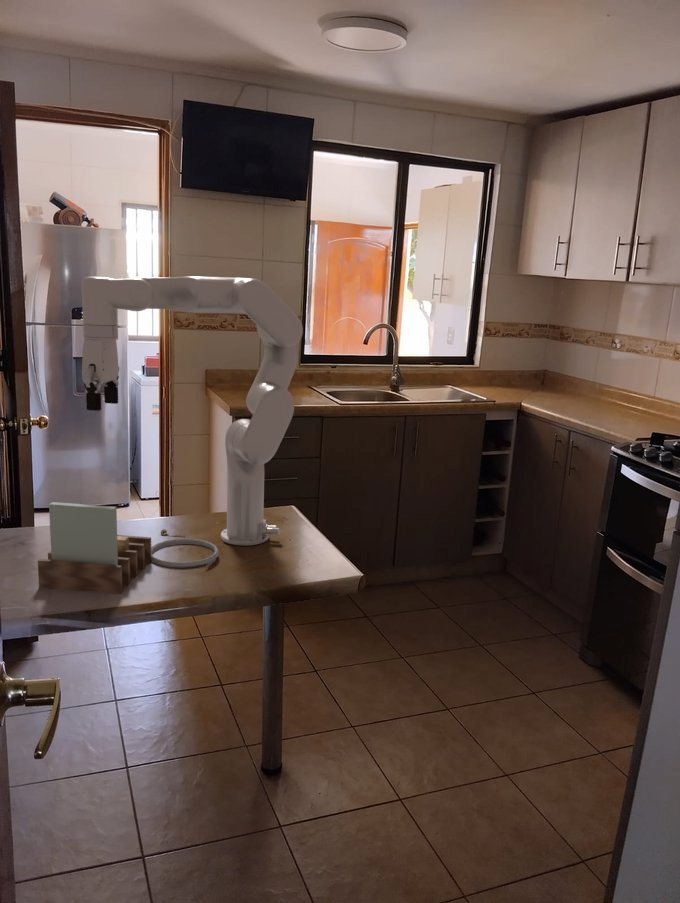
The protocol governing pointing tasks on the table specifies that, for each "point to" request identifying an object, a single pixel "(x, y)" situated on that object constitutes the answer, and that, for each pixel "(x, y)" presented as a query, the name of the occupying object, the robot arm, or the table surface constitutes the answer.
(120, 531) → the table surface
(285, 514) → the table surface
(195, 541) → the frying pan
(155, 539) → the table surface
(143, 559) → the rack
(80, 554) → the tall sheet
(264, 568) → the table surface
